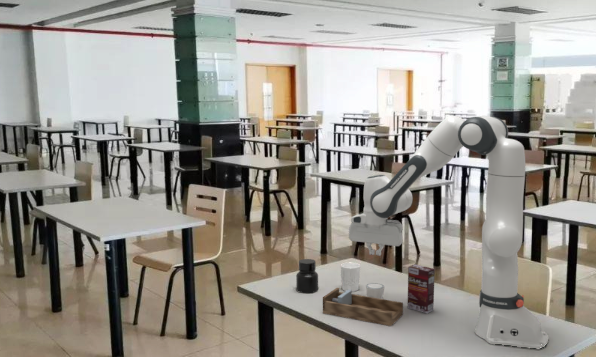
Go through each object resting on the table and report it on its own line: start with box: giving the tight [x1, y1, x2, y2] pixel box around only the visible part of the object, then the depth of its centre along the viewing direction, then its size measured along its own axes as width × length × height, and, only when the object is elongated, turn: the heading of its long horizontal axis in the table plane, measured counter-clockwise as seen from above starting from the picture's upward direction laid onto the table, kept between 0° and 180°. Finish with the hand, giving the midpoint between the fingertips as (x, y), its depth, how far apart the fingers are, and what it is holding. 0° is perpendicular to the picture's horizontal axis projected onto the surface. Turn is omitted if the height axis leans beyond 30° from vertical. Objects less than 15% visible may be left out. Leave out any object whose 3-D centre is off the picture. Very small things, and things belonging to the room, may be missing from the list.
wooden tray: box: [322, 287, 404, 327], centre depth 211 cm, size 26×12×6 cm, turn 61°
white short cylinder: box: [365, 282, 385, 299], centre depth 221 cm, size 7×7×7 cm
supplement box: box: [406, 264, 436, 314], centre depth 214 cm, size 9×5×16 cm, turn 47°
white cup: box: [340, 262, 361, 292], centre depth 237 cm, size 8×8×10 cm
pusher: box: [332, 290, 353, 305], centre depth 215 cm, size 6×9×5 cm, turn 151°
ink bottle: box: [295, 258, 319, 294], centre depth 237 cm, size 10×9×12 cm
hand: (375, 254), depth 218 cm, fingers closed
